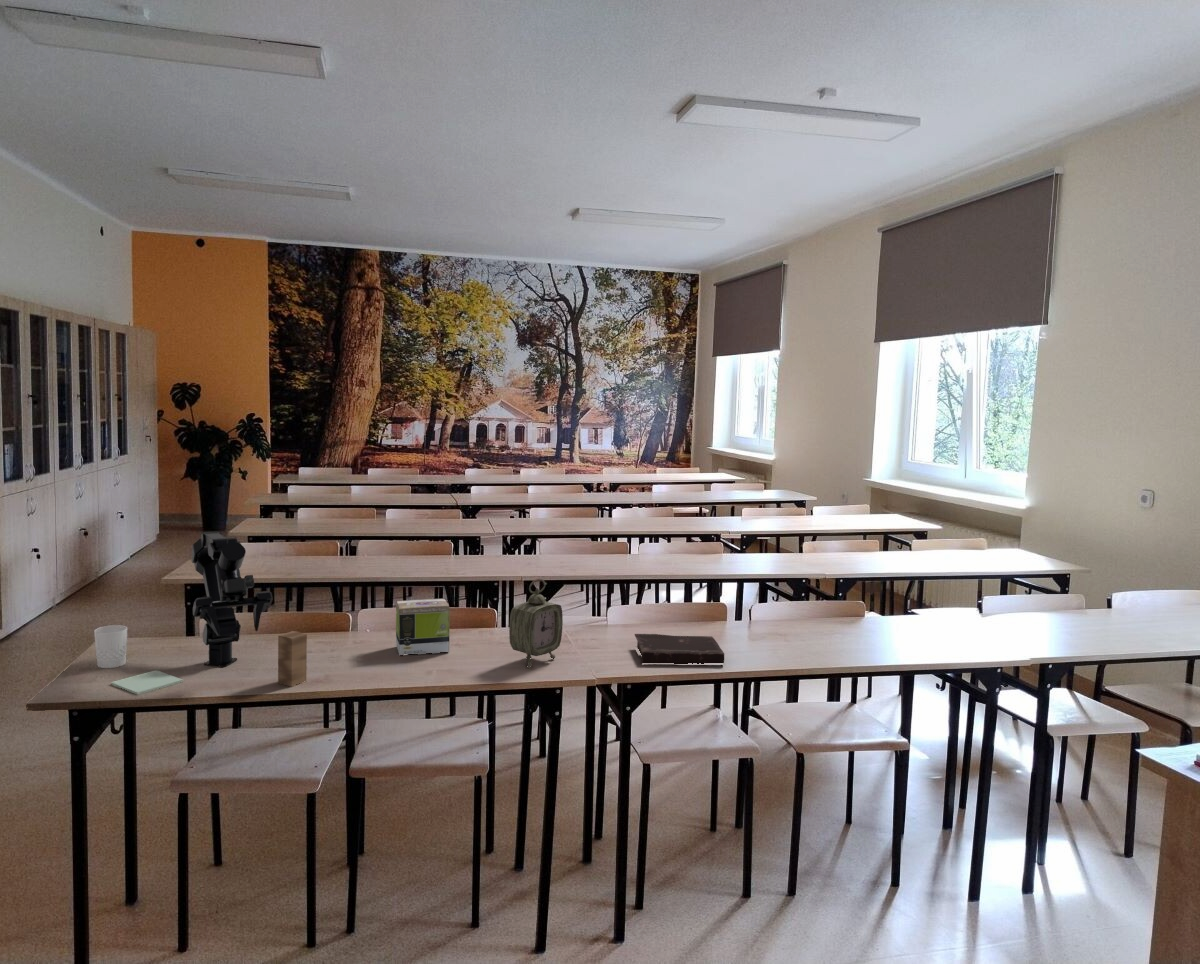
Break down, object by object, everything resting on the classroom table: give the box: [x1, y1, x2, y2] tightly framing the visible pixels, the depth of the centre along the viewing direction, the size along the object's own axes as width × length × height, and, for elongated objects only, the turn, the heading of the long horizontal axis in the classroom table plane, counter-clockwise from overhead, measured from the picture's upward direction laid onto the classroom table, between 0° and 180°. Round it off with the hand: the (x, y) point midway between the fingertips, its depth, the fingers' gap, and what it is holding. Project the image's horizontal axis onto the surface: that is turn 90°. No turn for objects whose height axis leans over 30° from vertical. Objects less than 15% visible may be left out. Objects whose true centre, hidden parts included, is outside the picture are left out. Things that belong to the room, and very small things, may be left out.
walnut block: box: [277, 630, 308, 687], centre depth 223 cm, size 5×5×13 cm
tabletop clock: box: [508, 578, 564, 668], centre depth 248 cm, size 14×9×25 cm, turn 143°
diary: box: [634, 633, 725, 664], centre depth 261 cm, size 19×25×5 cm
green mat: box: [110, 670, 184, 695], centre depth 219 cm, size 12×12×1 cm
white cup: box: [93, 624, 128, 669], centre depth 231 cm, size 8×8×10 cm
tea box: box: [395, 598, 450, 656], centre depth 255 cm, size 15×10×15 cm, turn 109°
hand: (238, 632), depth 217 cm, fingers open, 9 cm apart
